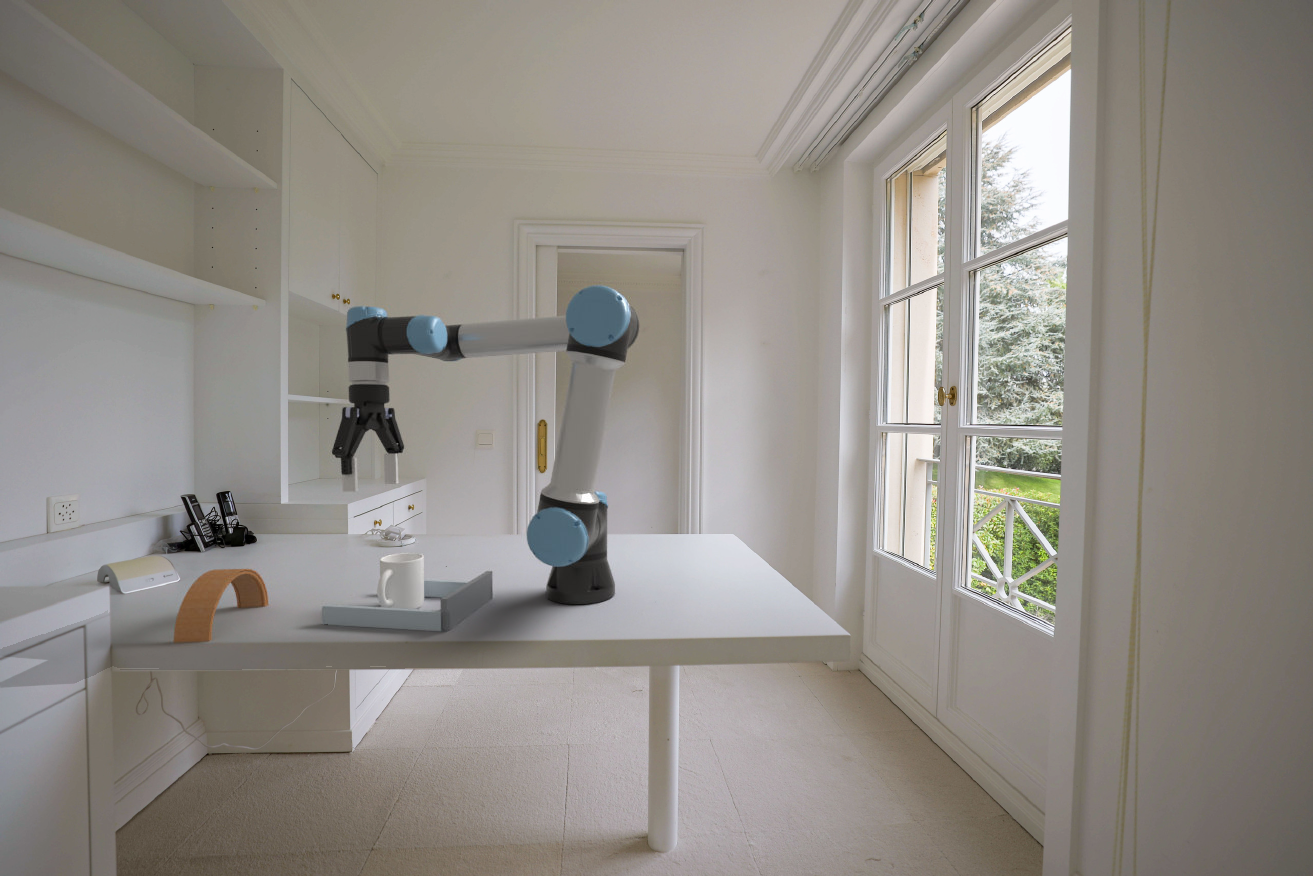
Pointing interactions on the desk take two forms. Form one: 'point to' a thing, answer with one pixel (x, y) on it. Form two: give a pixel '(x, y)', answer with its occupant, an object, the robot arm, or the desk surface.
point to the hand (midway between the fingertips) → (372, 487)
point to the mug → (401, 581)
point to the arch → (216, 601)
